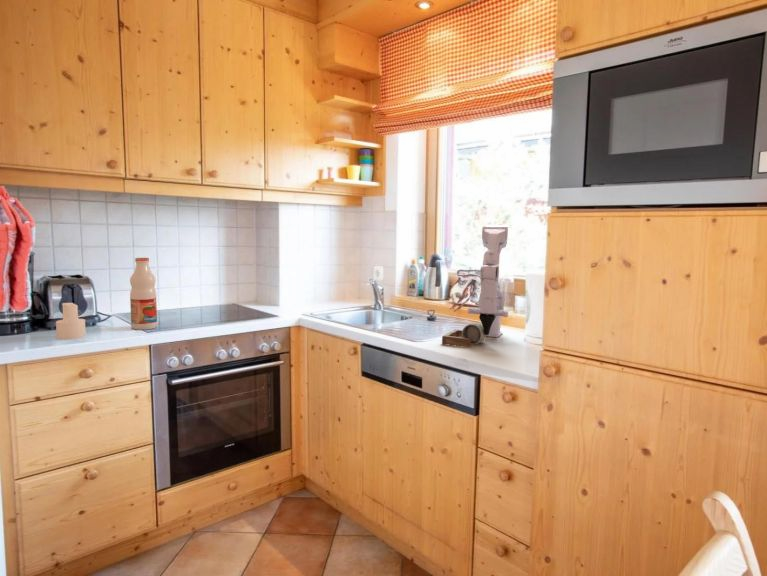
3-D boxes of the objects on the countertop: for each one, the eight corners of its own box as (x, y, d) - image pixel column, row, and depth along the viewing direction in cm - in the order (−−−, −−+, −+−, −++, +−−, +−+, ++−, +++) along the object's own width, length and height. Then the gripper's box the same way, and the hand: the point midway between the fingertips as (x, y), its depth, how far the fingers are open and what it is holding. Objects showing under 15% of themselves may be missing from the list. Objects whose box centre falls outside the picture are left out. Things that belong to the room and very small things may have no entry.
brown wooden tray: (454, 336, 199) (455, 329, 199) (480, 339, 194) (481, 332, 194) (442, 344, 186) (442, 336, 185) (469, 347, 181) (470, 339, 181)
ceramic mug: (487, 342, 190) (488, 322, 189) (481, 346, 183) (481, 325, 182) (460, 339, 195) (461, 319, 194) (453, 343, 188) (453, 322, 187)
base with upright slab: (88, 337, 183) (87, 304, 182) (59, 340, 177) (58, 307, 175) (82, 333, 189) (80, 301, 188) (54, 336, 183) (52, 303, 182)
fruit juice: (139, 325, 207) (137, 257, 204) (161, 326, 207) (159, 257, 204) (126, 329, 198) (123, 258, 195) (149, 330, 197) (147, 258, 194)
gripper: (465, 297, 184) (464, 334, 185) (505, 300, 177) (503, 338, 179) (471, 295, 190) (469, 330, 191) (510, 298, 183) (508, 335, 185)
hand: (486, 334), depth 185 cm, fingers closed
